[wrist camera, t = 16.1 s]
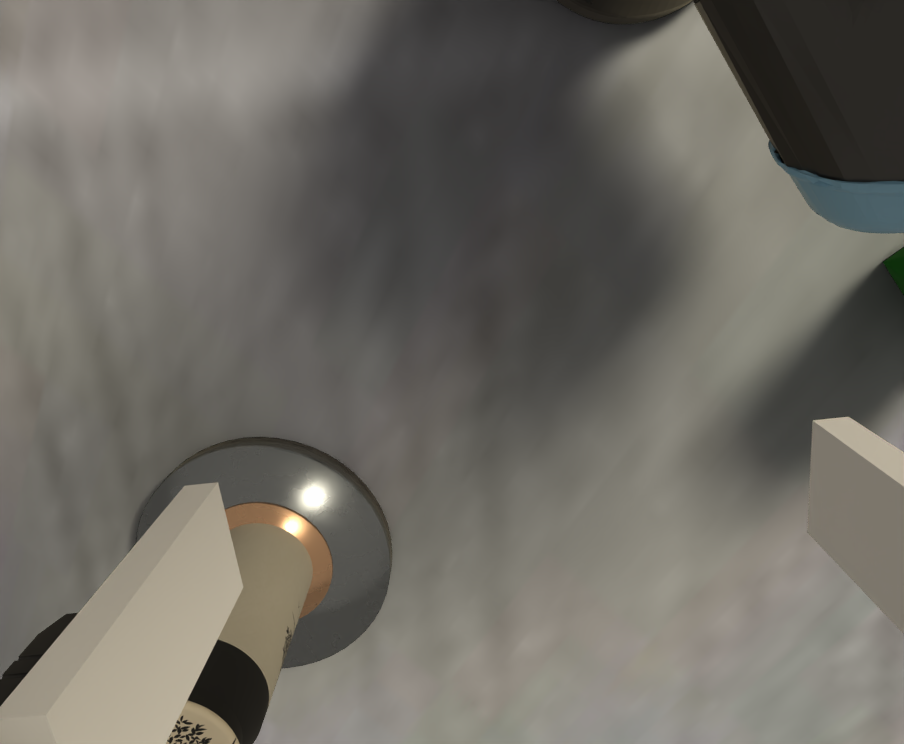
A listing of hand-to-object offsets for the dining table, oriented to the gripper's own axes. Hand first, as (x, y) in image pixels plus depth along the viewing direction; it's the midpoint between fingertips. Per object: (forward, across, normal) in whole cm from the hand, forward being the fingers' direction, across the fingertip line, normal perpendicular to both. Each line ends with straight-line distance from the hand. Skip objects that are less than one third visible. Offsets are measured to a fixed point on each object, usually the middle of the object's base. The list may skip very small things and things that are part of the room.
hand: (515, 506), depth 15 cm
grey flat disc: (+35, -19, -21) cm, 45 cm away
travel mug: (+33, -19, -21) cm, 43 cm away
